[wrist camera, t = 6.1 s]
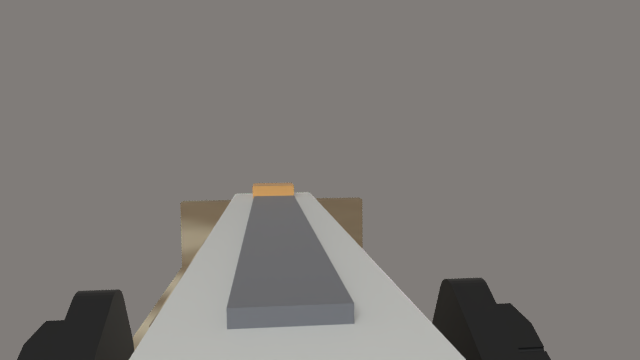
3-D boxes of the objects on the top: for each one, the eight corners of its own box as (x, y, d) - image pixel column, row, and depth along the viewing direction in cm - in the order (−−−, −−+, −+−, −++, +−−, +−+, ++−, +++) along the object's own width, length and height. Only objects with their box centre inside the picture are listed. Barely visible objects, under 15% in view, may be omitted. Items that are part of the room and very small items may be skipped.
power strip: (237, 266, 30) (235, 182, 29) (310, 264, 30) (309, 181, 30) (84, 897, 5) (64, 385, 4) (523, 837, 5) (530, 361, 5)
